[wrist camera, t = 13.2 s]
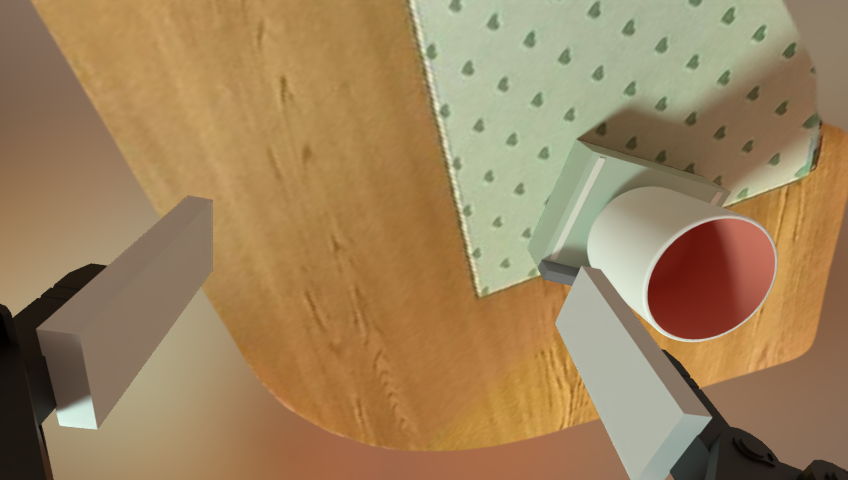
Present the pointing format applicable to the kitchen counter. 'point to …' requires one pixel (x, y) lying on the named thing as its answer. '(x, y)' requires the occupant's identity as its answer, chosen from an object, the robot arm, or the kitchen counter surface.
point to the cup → (683, 261)
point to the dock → (599, 203)
